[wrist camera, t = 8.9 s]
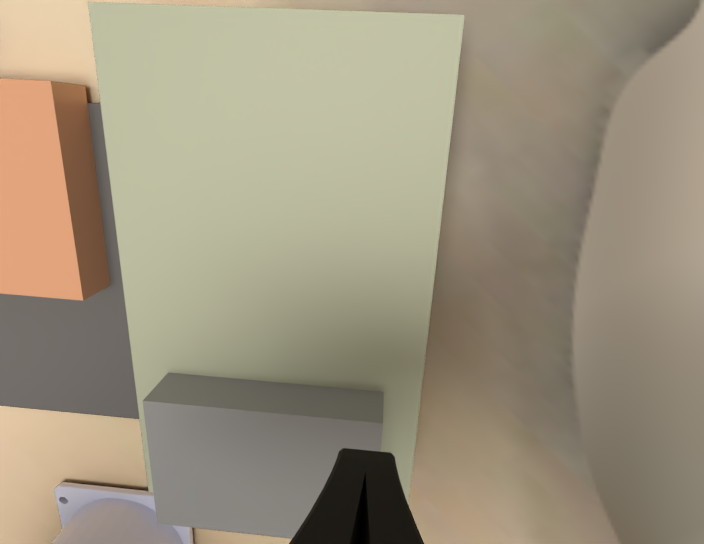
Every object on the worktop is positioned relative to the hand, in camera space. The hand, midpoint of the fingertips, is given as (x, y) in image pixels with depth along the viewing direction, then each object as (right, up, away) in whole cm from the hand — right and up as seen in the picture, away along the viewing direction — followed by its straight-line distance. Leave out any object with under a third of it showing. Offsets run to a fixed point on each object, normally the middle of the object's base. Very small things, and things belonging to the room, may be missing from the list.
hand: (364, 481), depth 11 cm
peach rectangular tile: (-15, +9, +7) cm, 19 cm away
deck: (-3, +5, +9) cm, 11 cm away
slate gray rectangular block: (-4, -2, +8) cm, 9 cm away
